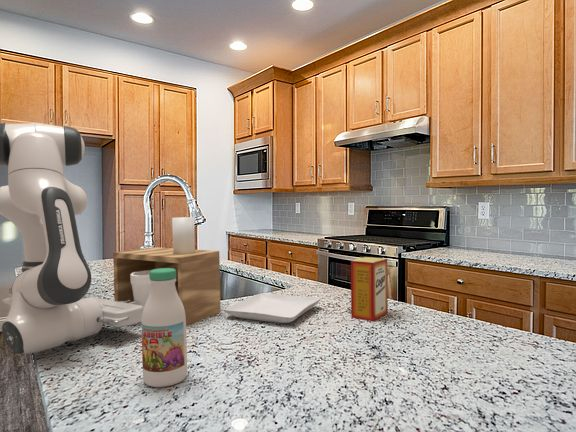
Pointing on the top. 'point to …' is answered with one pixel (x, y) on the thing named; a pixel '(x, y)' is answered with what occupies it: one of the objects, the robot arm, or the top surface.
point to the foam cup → (141, 286)
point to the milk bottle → (163, 332)
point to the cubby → (189, 277)
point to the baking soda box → (369, 288)
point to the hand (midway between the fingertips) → (134, 303)
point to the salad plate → (272, 307)
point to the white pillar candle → (183, 235)
